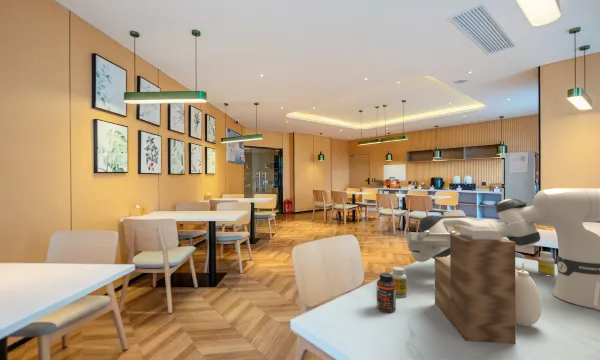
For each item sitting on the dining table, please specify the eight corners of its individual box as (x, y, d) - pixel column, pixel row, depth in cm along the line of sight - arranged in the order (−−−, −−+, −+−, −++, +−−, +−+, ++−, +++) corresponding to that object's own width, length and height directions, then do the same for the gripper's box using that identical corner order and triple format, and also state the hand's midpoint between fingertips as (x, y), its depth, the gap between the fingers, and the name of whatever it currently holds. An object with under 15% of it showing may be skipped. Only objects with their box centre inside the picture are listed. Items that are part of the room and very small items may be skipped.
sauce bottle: (500, 317, 83) (499, 258, 83) (526, 317, 82) (526, 258, 83) (520, 331, 75) (519, 266, 75) (549, 332, 75) (548, 266, 75)
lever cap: (470, 229, 87) (470, 222, 87) (501, 240, 71) (500, 231, 71) (447, 229, 87) (447, 221, 87) (472, 240, 72) (472, 230, 72)
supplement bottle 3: (535, 272, 123) (534, 250, 123) (548, 272, 122) (548, 251, 122) (544, 276, 118) (543, 254, 118) (558, 277, 117) (557, 254, 117)
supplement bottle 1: (375, 311, 87) (375, 276, 87) (377, 303, 92) (377, 270, 92) (395, 314, 85) (395, 278, 85) (395, 306, 90) (395, 272, 90)
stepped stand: (472, 306, 90) (472, 227, 90) (515, 343, 69) (515, 242, 69) (434, 304, 92) (434, 227, 92) (466, 340, 71) (465, 241, 71)
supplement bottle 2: (397, 290, 103) (397, 265, 103) (409, 295, 99) (409, 269, 99) (388, 293, 100) (388, 267, 100) (400, 298, 96) (400, 271, 96)
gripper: (457, 252, 109) (472, 242, 98) (404, 251, 112) (413, 240, 100) (454, 237, 113) (468, 225, 101) (402, 236, 115) (411, 224, 103)
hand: (440, 233), depth 100 cm, fingers open, 8 cm apart
